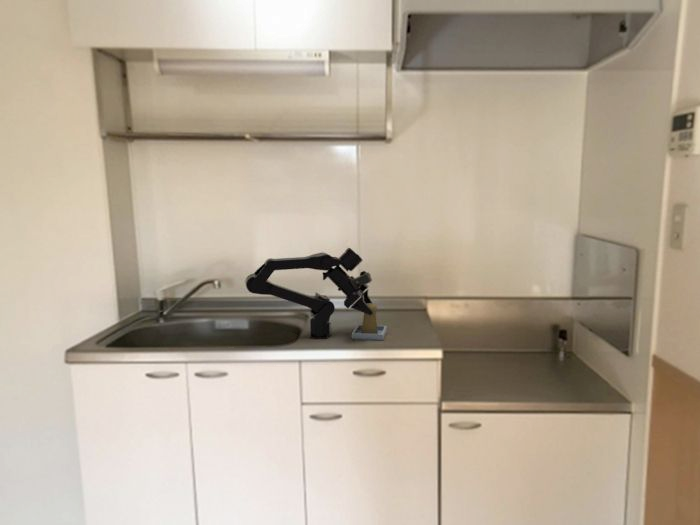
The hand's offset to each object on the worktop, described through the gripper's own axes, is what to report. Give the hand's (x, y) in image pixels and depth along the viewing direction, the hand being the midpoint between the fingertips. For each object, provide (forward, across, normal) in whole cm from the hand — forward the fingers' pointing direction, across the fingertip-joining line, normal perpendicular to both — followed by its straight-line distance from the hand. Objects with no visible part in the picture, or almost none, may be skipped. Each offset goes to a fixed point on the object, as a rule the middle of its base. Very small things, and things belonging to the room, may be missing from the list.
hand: (373, 311), depth 165 cm
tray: (+5, 0, +7) cm, 9 cm away
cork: (+5, 0, +7) cm, 8 cm away
